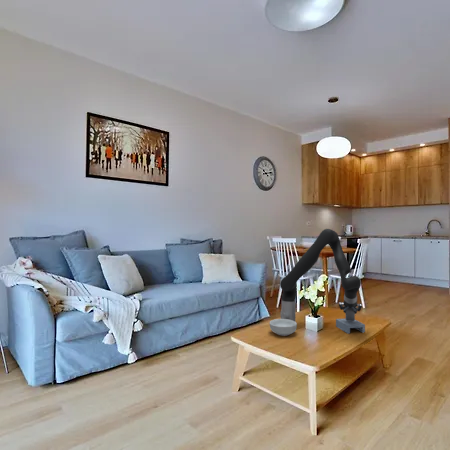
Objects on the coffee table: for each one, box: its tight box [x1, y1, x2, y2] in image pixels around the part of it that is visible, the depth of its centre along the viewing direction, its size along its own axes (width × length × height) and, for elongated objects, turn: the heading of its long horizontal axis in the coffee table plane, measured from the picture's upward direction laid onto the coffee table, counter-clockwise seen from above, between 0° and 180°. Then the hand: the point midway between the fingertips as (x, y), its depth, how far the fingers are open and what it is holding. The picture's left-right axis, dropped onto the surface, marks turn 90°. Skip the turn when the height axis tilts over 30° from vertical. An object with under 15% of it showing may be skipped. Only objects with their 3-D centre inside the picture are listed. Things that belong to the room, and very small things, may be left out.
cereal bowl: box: [269, 318, 298, 337], centre depth 193 cm, size 17×17×7 cm
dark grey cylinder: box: [345, 308, 356, 321], centre depth 200 cm, size 6×6×9 cm
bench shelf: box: [335, 318, 366, 334], centre depth 200 cm, size 12×14×5 cm
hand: (349, 312), depth 202 cm, fingers closed on dark grey cylinder, 5 cm apart
